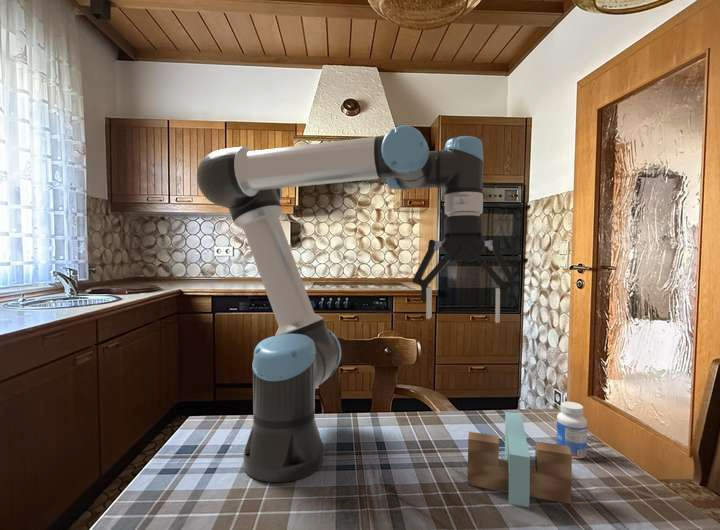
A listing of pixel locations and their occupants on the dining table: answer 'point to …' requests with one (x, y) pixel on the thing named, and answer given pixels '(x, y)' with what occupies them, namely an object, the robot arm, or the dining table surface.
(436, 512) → the dining table surface
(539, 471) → the brown u-shaped block
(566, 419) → the pill bottle
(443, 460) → the dining table surface
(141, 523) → the dining table surface
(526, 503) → the teal bridge block
